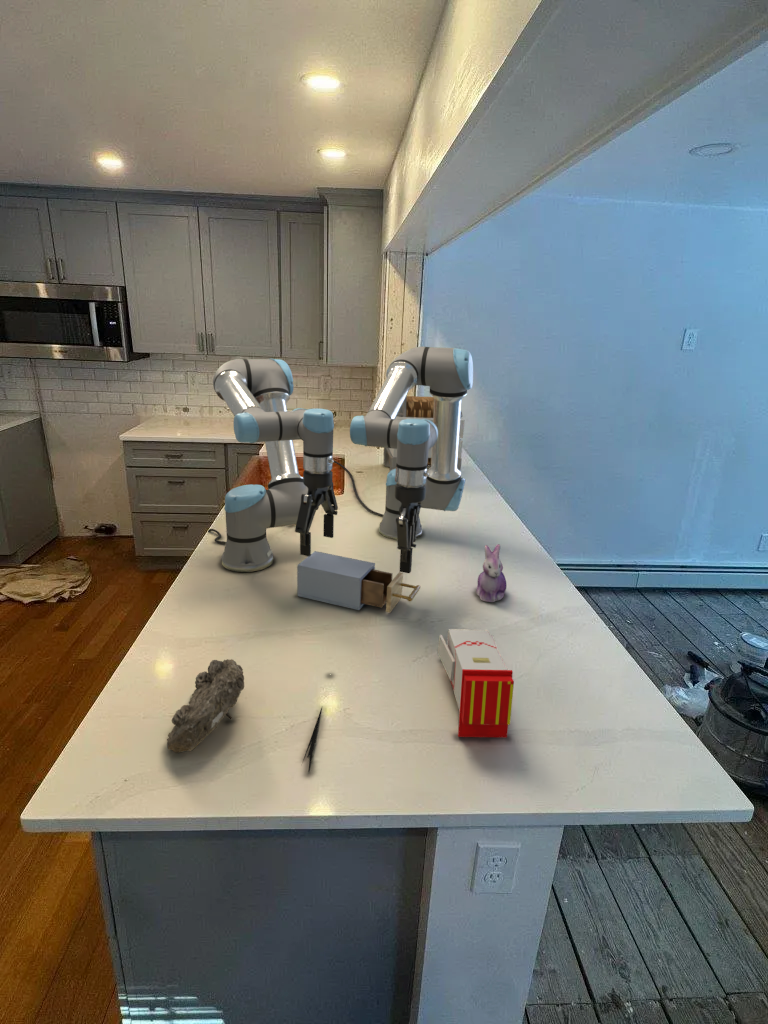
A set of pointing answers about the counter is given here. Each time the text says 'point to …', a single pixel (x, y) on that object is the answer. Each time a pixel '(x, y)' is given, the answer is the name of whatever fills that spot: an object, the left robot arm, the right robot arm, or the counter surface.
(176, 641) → the counter surface
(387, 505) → the right robot arm
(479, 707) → the toy
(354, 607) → the cabinet
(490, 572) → the figurine
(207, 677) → the fossil
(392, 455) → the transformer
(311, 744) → the feather
